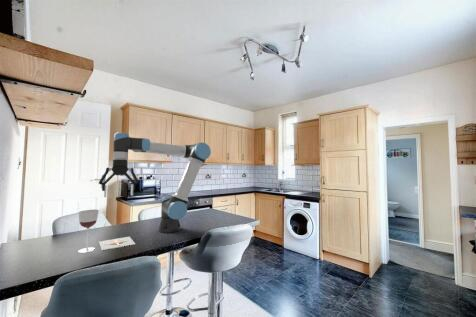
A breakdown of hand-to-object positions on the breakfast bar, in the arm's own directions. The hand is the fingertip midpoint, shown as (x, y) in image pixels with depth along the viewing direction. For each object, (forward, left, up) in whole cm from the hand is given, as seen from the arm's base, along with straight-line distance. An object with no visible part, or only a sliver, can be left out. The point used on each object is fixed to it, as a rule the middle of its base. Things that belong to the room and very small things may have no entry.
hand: (118, 196), depth 122 cm
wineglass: (+14, +2, -27) cm, 30 cm away
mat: (0, 0, -27) cm, 27 cm away
